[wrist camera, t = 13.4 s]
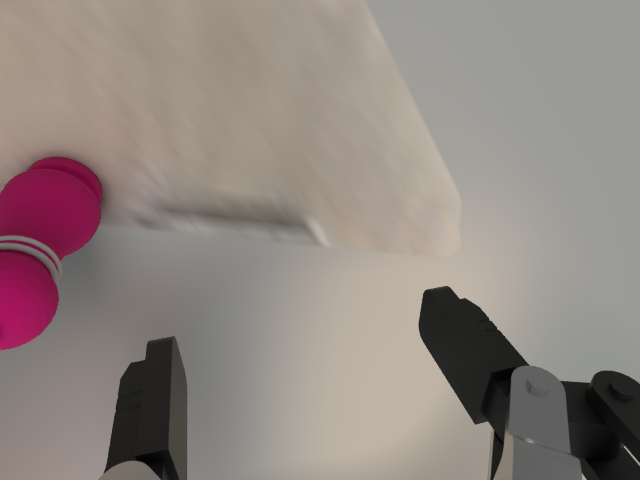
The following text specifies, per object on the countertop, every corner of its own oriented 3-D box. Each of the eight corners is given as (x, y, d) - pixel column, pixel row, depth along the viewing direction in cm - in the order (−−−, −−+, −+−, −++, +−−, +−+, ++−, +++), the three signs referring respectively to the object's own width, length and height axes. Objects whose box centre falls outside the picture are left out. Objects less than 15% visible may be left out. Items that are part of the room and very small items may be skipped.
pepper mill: (81, 139, 37) (-8, 278, 20) (123, 208, 41) (77, 369, 24) (-2, 166, 36) (-162, 330, 20) (49, 233, 40) (-48, 414, 24)
